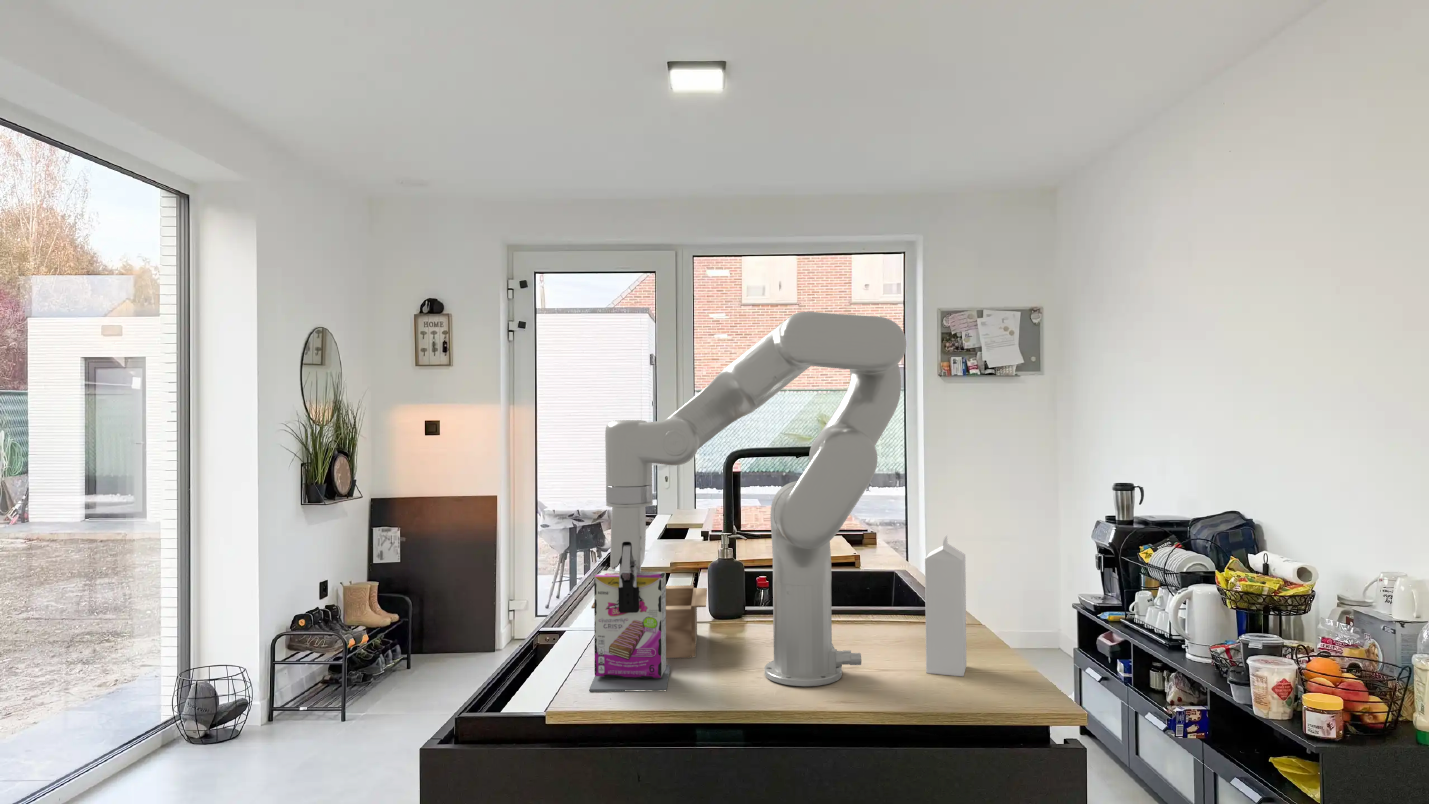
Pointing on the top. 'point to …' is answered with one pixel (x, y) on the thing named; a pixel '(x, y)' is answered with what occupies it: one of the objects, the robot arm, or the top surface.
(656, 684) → the mat
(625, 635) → the candy bar box
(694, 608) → the open wooden box
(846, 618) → the top surface
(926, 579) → the milk
